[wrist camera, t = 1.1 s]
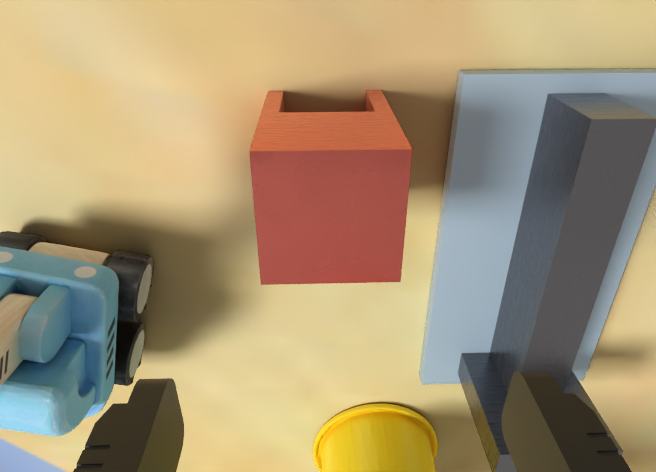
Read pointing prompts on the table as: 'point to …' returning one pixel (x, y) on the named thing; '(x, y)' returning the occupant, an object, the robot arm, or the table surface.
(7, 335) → the toy excavator
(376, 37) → the table surface
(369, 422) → the stacking cups
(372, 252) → the red slotted block
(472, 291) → the base board
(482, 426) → the coupler rail
